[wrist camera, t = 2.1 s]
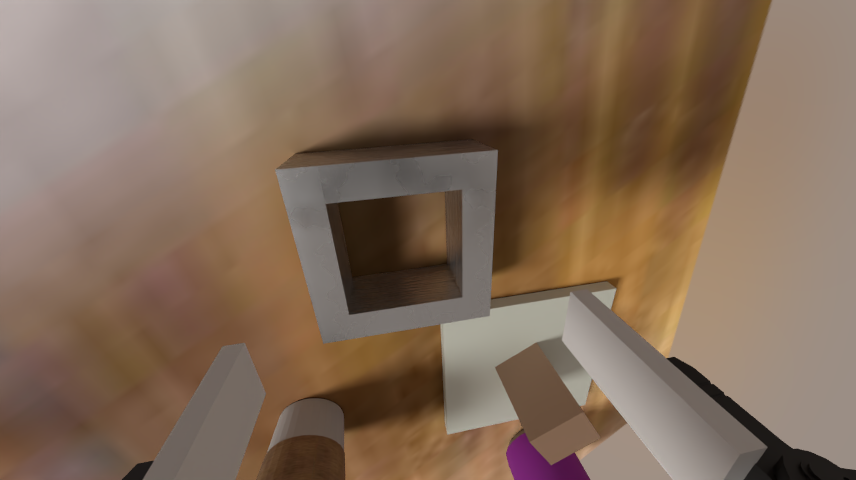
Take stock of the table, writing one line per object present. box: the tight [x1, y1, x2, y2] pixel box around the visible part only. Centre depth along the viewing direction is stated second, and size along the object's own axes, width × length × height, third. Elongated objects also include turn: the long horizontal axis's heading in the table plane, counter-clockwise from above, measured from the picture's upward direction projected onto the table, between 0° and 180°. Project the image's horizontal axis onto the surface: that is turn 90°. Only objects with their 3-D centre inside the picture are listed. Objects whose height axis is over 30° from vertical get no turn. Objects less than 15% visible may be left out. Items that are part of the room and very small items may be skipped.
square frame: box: [275, 139, 498, 344], centre depth 20 cm, size 12×12×4 cm
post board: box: [441, 281, 616, 465], centre depth 27 cm, size 16×16×8 cm
